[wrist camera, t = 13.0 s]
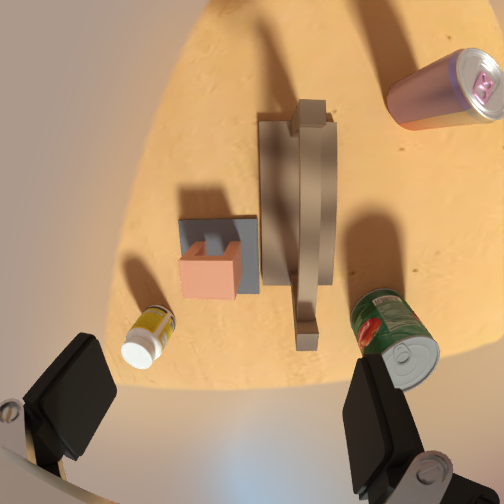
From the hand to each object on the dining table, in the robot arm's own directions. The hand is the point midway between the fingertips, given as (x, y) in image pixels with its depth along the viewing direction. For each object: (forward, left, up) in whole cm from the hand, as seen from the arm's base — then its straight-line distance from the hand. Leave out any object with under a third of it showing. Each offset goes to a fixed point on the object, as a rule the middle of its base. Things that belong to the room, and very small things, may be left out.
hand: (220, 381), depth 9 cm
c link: (+4, -5, -24) cm, 25 cm away
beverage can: (-14, +17, -24) cm, 33 cm away
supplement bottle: (+13, -14, -25) cm, 31 cm away
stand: (-2, +4, -24) cm, 25 cm away
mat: (+4, -5, -24) cm, 25 cm away
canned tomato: (+12, +15, -25) cm, 31 cm away
